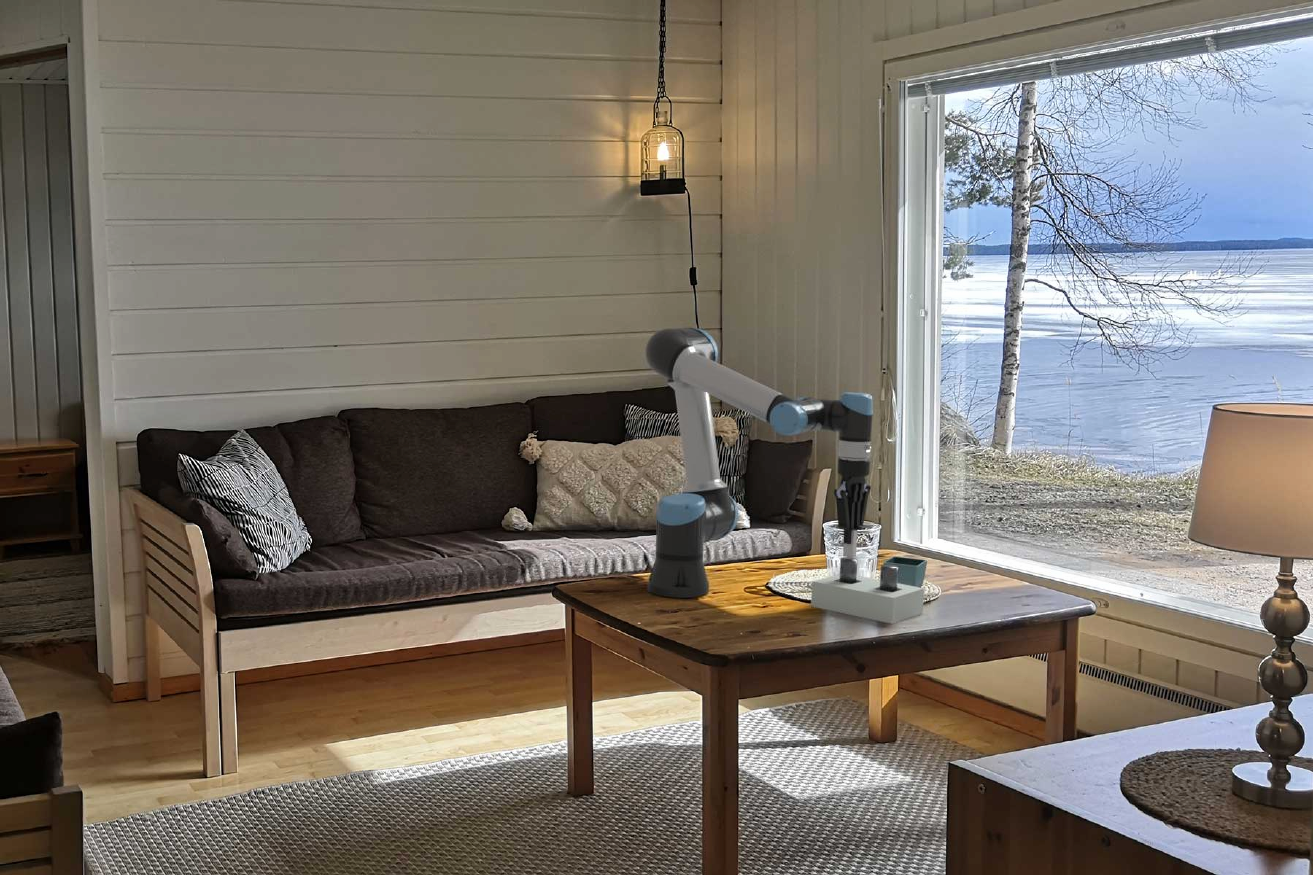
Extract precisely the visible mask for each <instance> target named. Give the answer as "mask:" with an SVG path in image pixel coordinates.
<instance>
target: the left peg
mask: <svg viewBox="0 0 1313 875" xmlns="http://www.w3.org/2000/svg"><path fill="white" fill-rule="evenodd" d="M839 562H840V563H839V574H840V579H839V582H842V583H847V584H854V583H856V579H857V575H858V558H856V557H855V558H850V557H844V556H842V557H840V560H839Z"/></svg>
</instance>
